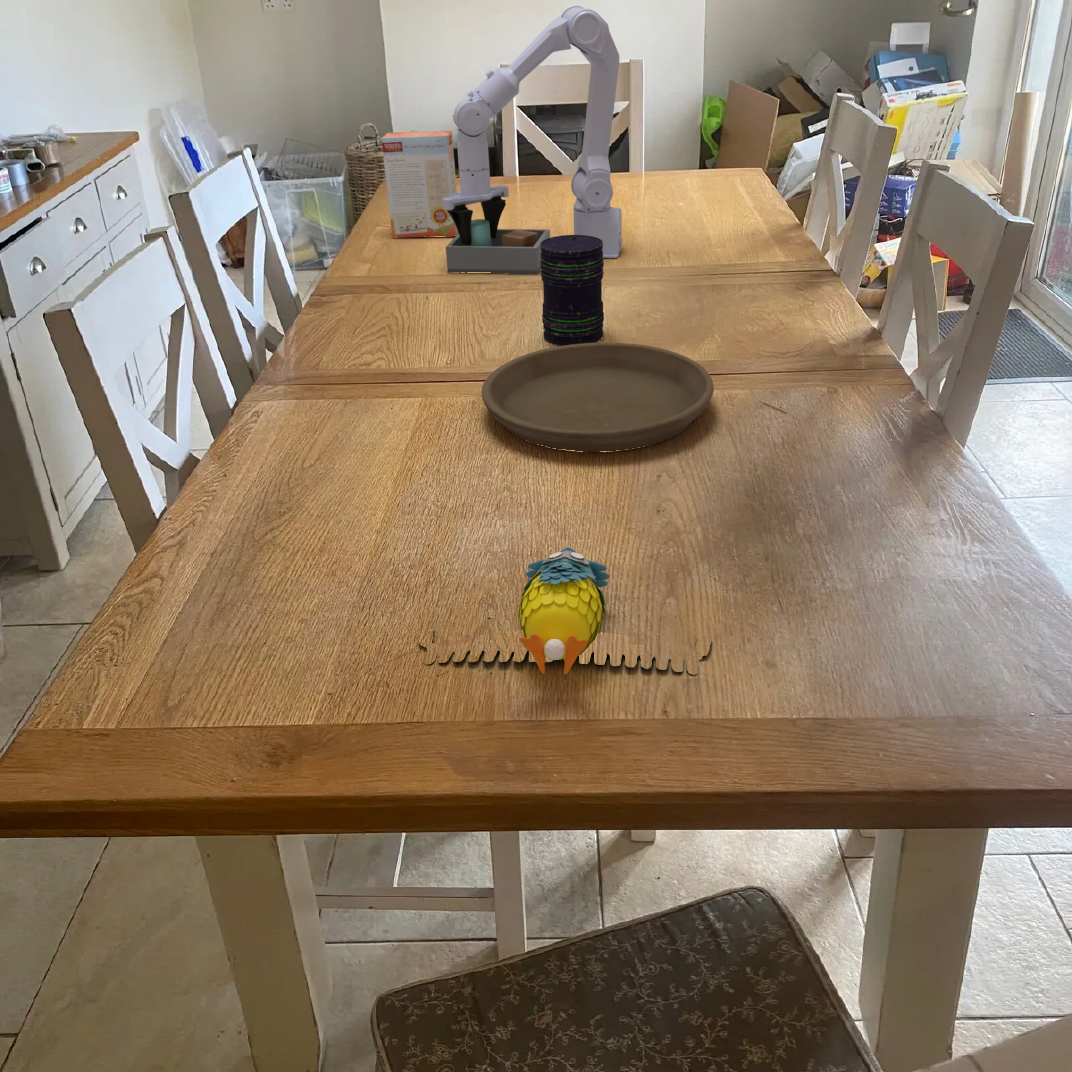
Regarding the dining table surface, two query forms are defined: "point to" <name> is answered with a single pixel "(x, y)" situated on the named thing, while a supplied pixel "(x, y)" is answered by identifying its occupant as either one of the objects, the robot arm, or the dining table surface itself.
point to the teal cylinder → (480, 233)
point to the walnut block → (519, 239)
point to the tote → (496, 255)
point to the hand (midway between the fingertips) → (478, 240)
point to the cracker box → (419, 182)
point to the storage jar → (572, 289)
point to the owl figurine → (562, 607)
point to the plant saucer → (598, 396)
